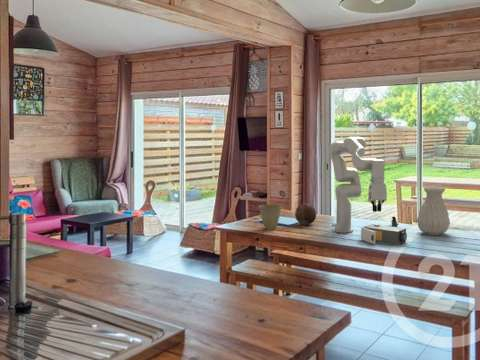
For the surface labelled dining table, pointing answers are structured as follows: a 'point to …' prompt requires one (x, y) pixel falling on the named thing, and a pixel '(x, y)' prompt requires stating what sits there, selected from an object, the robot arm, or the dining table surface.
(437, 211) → the vase
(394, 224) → the binoculars
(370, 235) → the side door
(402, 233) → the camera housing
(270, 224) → the plant pot
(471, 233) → the dining table surface
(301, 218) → the wooden sphere
